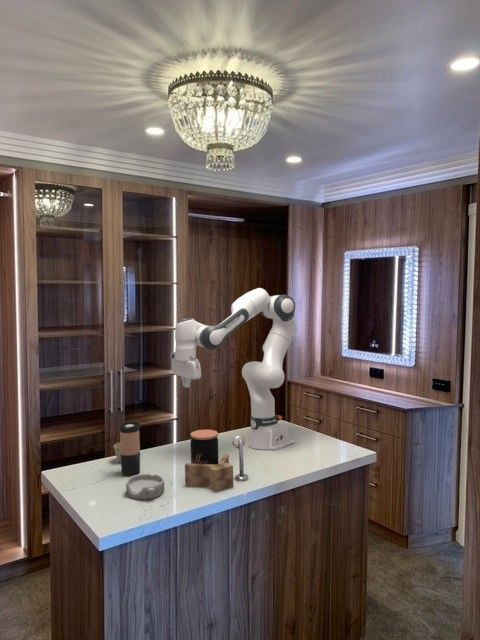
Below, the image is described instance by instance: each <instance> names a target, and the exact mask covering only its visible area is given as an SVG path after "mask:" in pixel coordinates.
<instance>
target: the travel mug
mask: <svg viewBox="0 0 480 640" xmlns="http://www.w3.org/2000/svg"><path fill="white" fill-rule="evenodd" d="M119 435H120V436H119V438H120V439H119V441H120V442H119V443H120V451H121V462H120V465H121V466H120V467H121V475H122V477H129V478H130V477H132V476H134V475H139V474H140V473H141V443H140V441H141V440H140V423H139V422H137V421H128V422H122V423H120V424H119Z"/></svg>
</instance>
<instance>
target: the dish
mask: <svg viewBox="0 0 480 640" xmlns="http://www.w3.org/2000/svg"><path fill="white" fill-rule="evenodd" d="M125 488H126V493H127V494H128V496H129V497H130V498H133V499H135V500H136V499H137V500H152V499H154V498H157V497H159V496H161V495H162V494H164V491H165V479H164V477H162V475H160V474H157V473H156V474H151V473H141V474H140V473H139V474H138V475H134V476H131V477H129V478H127V480H126V482H125Z"/></svg>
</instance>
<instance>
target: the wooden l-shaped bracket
mask: <svg viewBox="0 0 480 640" xmlns="http://www.w3.org/2000/svg"><path fill="white" fill-rule="evenodd" d="M184 480H185V481H184V482H185V483H184V484H185V487H196V488H202V487H203V488H209V490H210V491H212V492H214V493H217V492H221V491H224V490H227V489H230V488H234V465H232V464H231V463H230V457H229V453H223V455H222V456H221V458H220V459H219V463H218V465H214V464H191V462H190V463H188V462H186V463H185V464H184Z"/></svg>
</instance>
